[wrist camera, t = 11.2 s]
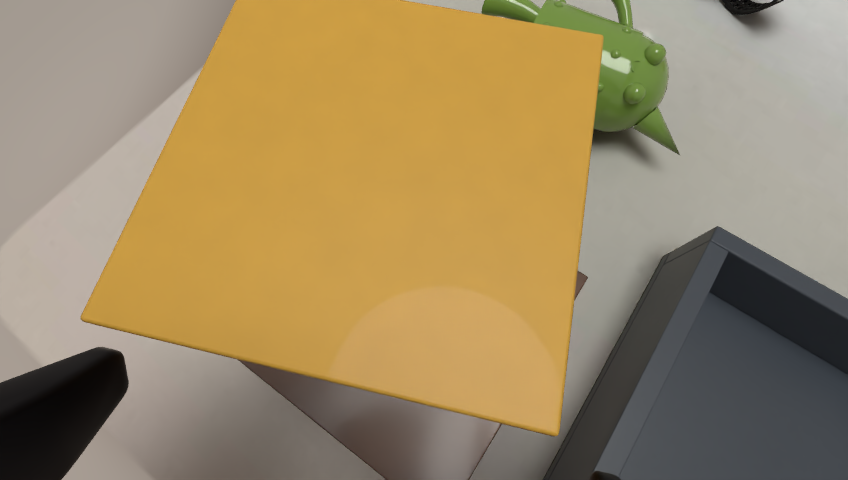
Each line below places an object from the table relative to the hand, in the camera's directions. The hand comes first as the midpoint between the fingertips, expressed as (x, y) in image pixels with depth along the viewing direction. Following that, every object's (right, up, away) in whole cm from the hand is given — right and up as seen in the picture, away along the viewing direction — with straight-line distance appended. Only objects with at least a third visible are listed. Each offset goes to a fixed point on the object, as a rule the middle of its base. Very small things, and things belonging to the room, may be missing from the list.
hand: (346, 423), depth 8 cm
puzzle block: (+1, +1, +8) cm, 8 cm away
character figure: (+9, +11, +16) cm, 22 cm away
